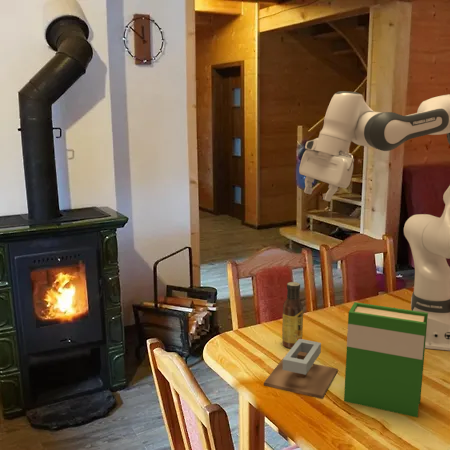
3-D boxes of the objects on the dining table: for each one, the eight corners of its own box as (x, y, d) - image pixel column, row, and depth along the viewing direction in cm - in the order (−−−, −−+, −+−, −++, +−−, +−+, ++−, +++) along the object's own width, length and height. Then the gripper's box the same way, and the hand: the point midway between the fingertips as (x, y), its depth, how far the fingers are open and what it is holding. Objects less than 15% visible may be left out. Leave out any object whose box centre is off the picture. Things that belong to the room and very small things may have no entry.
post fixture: (337, 371, 153) (338, 347, 151) (322, 398, 139) (323, 372, 137) (283, 360, 159) (284, 337, 158) (263, 385, 145) (264, 360, 144)
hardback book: (420, 402, 137) (427, 312, 132) (417, 417, 130) (425, 323, 125) (350, 387, 144) (354, 302, 139) (343, 401, 137) (348, 312, 132)
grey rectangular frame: (298, 348, 155) (299, 338, 155) (320, 352, 153) (321, 342, 152) (282, 369, 143) (282, 359, 142) (306, 374, 140) (306, 364, 140)
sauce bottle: (301, 350, 166) (303, 288, 161) (280, 348, 167) (282, 286, 163) (302, 341, 172) (304, 281, 168) (283, 339, 173) (284, 280, 169)
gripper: (364, 157, 142) (347, 207, 144) (320, 147, 160) (306, 192, 162) (345, 151, 139) (329, 202, 141) (302, 141, 157) (288, 187, 159)
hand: (316, 197), depth 152 cm, fingers open, 8 cm apart
